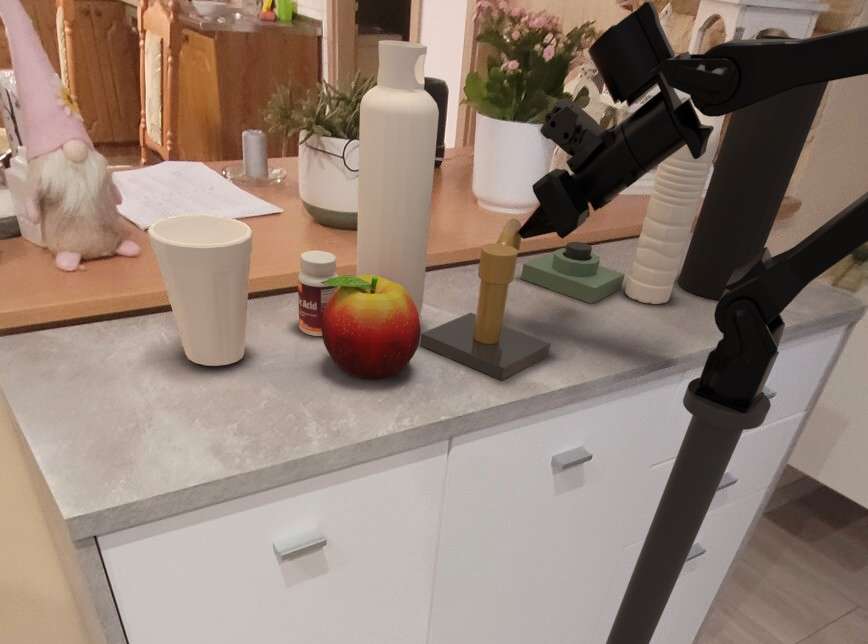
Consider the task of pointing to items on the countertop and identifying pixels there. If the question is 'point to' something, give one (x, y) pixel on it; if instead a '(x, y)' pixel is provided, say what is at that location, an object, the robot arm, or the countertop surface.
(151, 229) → the cup
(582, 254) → the dark round button
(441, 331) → the tap base
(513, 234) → the spout
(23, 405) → the countertop surface
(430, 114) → the bottle
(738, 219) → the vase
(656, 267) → the water bottle
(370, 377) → the fruit
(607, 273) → the green button mount
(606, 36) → the robot arm
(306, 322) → the pill bottle
